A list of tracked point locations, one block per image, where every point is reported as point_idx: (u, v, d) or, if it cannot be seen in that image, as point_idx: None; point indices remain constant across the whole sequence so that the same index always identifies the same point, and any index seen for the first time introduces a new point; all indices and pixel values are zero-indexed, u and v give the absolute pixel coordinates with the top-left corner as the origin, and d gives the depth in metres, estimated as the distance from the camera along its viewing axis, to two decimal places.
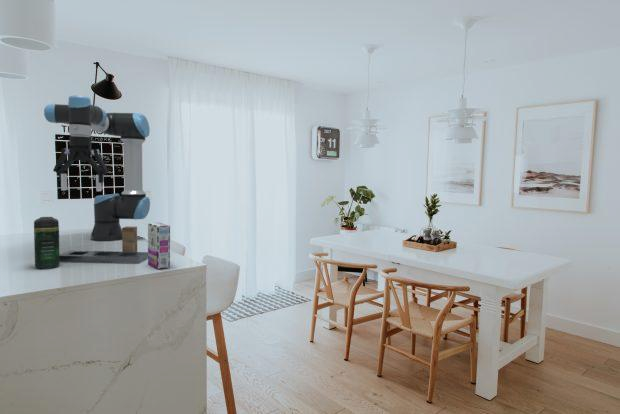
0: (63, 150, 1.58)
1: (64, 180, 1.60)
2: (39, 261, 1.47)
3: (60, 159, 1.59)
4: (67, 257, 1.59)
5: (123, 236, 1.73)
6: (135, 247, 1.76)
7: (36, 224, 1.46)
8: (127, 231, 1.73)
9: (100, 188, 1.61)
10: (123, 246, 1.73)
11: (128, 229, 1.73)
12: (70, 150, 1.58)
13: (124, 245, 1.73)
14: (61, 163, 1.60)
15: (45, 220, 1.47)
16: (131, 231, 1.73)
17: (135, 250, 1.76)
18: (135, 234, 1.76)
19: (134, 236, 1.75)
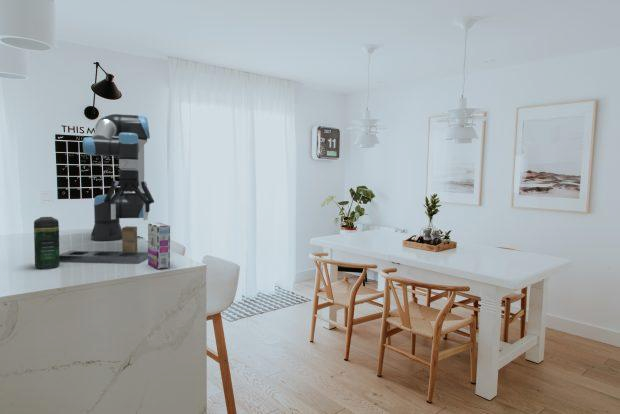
0: (113, 182, 1.72)
1: (113, 210, 1.73)
2: (39, 261, 1.47)
3: (110, 191, 1.72)
4: (67, 257, 1.59)
5: (123, 236, 1.73)
6: (135, 247, 1.76)
7: (36, 224, 1.46)
8: (127, 231, 1.73)
9: (146, 217, 1.75)
10: (123, 246, 1.73)
11: (128, 229, 1.73)
12: (119, 182, 1.72)
13: (124, 245, 1.73)
14: (111, 194, 1.73)
15: (45, 220, 1.47)
16: (131, 231, 1.73)
17: (135, 250, 1.76)
18: (135, 234, 1.76)
19: (134, 236, 1.75)
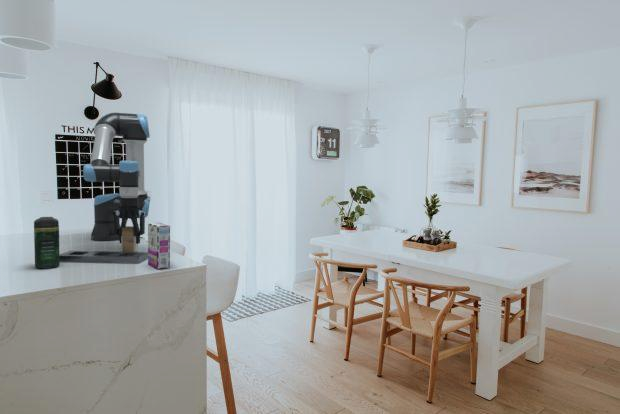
0: (114, 213, 1.73)
1: None
2: (39, 261, 1.47)
3: (115, 221, 1.73)
4: (67, 257, 1.59)
5: (123, 236, 1.73)
6: None
7: (36, 224, 1.46)
8: (127, 231, 1.73)
9: (137, 248, 1.76)
10: (123, 246, 1.73)
11: (128, 229, 1.73)
12: (120, 210, 1.73)
13: (124, 245, 1.73)
14: (118, 225, 1.74)
15: (45, 220, 1.47)
16: (131, 231, 1.73)
17: None
18: None
19: None
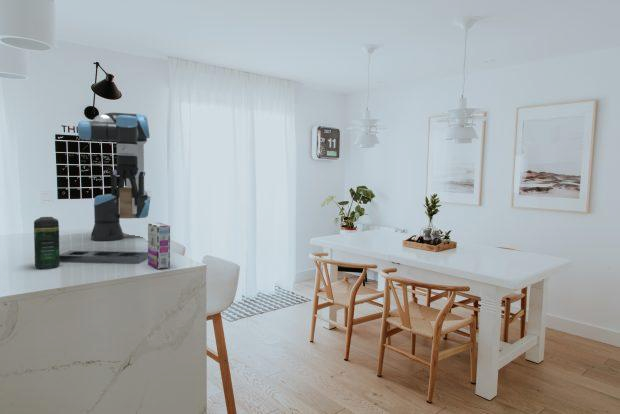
0: (111, 172, 1.61)
1: None
2: (39, 261, 1.47)
3: (112, 181, 1.61)
4: (67, 257, 1.59)
5: (120, 197, 1.61)
6: None
7: (36, 224, 1.46)
8: (124, 192, 1.60)
9: (135, 211, 1.64)
10: (120, 208, 1.61)
11: (126, 189, 1.60)
12: (117, 169, 1.61)
13: (122, 207, 1.61)
14: (115, 185, 1.62)
15: (45, 220, 1.47)
16: (129, 192, 1.61)
17: None
18: (133, 195, 1.63)
19: (132, 197, 1.62)
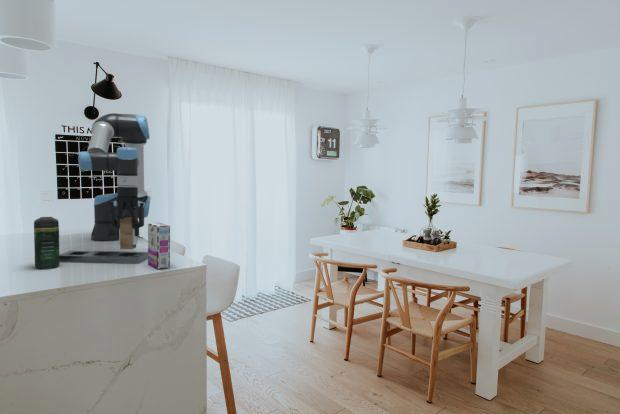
0: (112, 203, 1.62)
1: None
2: (39, 261, 1.47)
3: (113, 213, 1.62)
4: (67, 257, 1.59)
5: (121, 228, 1.61)
6: None
7: (36, 224, 1.46)
8: (125, 223, 1.61)
9: (136, 241, 1.65)
10: (121, 239, 1.62)
11: (126, 221, 1.61)
12: (117, 200, 1.62)
13: (122, 238, 1.62)
14: (115, 216, 1.63)
15: (45, 220, 1.47)
16: (129, 223, 1.61)
17: None
18: None
19: None
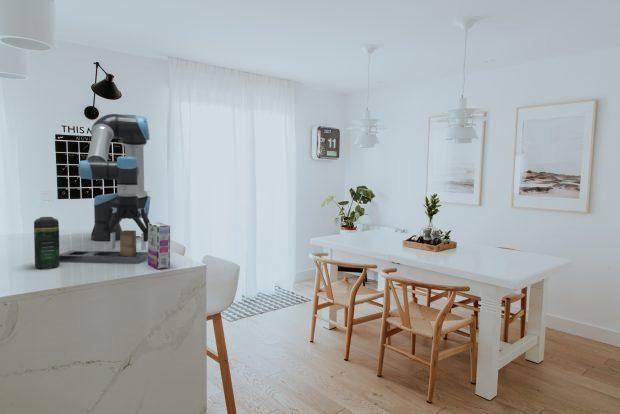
0: (111, 210, 1.62)
1: (113, 239, 1.64)
2: (39, 261, 1.47)
3: (109, 218, 1.62)
4: (67, 257, 1.59)
5: (121, 241, 1.62)
6: (134, 253, 1.65)
7: (36, 224, 1.46)
8: (125, 236, 1.62)
9: (144, 246, 1.65)
10: (121, 251, 1.62)
11: (126, 233, 1.62)
12: (118, 209, 1.62)
13: (122, 250, 1.62)
14: (110, 222, 1.63)
15: (45, 220, 1.47)
16: (129, 236, 1.62)
17: None
18: (134, 239, 1.65)
19: (133, 241, 1.64)
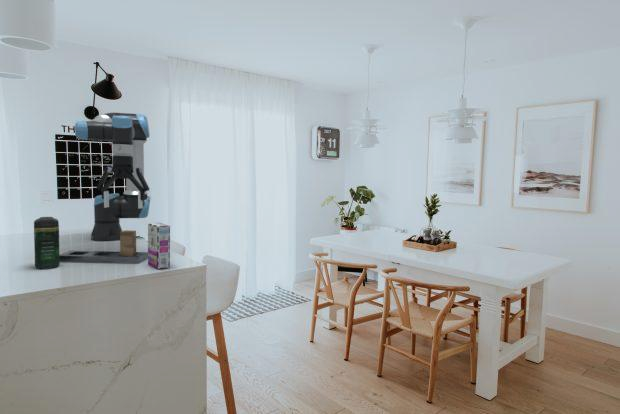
0: (106, 169, 1.63)
1: (107, 197, 1.65)
2: (39, 261, 1.47)
3: (103, 177, 1.63)
4: (67, 257, 1.59)
5: (121, 241, 1.62)
6: (134, 253, 1.65)
7: (36, 224, 1.46)
8: (125, 236, 1.62)
9: (141, 205, 1.67)
10: (121, 251, 1.62)
11: (126, 233, 1.62)
12: (113, 169, 1.63)
13: (122, 250, 1.62)
14: (104, 181, 1.64)
15: (45, 220, 1.47)
16: (129, 236, 1.62)
17: None
18: (134, 239, 1.65)
19: (133, 241, 1.64)
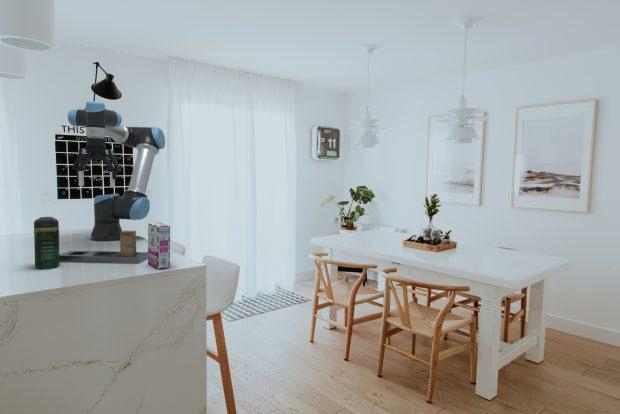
0: (80, 150, 1.77)
1: (81, 177, 1.79)
2: (39, 261, 1.47)
3: (78, 158, 1.77)
4: (67, 257, 1.59)
5: (121, 241, 1.62)
6: (134, 253, 1.65)
7: (36, 224, 1.46)
8: (125, 236, 1.62)
9: (113, 184, 1.80)
10: (121, 251, 1.62)
11: (126, 233, 1.62)
12: (87, 150, 1.77)
13: (122, 250, 1.62)
14: (79, 162, 1.79)
15: (45, 220, 1.47)
16: (129, 236, 1.62)
17: None
18: (134, 239, 1.65)
19: (133, 241, 1.64)
